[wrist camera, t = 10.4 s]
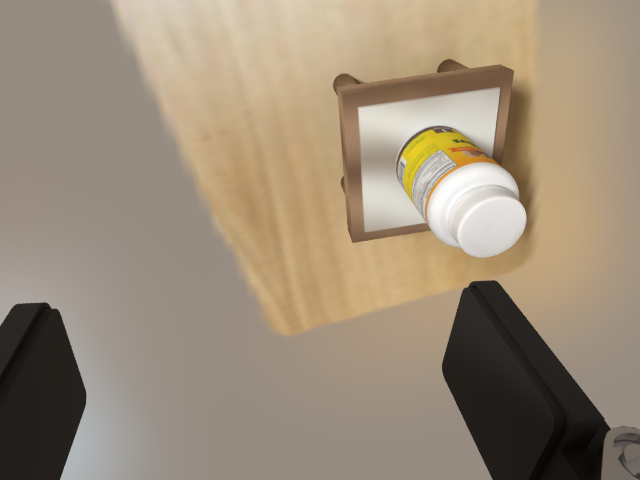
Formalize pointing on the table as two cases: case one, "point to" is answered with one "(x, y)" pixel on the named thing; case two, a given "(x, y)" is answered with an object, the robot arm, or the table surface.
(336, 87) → the footstool
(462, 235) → the supplement bottle
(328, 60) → the table surface
